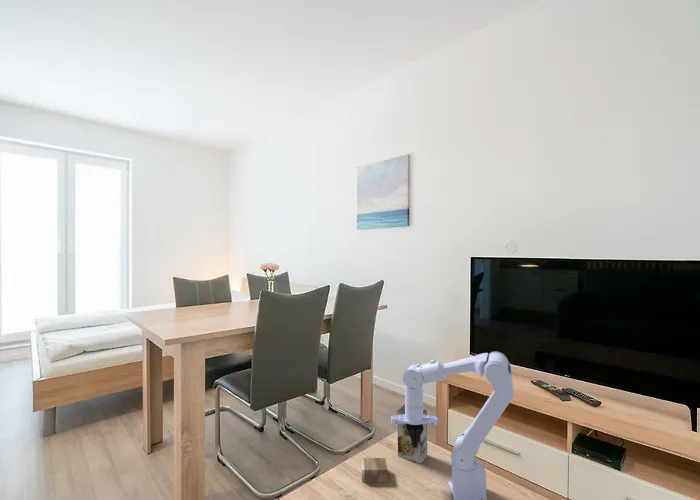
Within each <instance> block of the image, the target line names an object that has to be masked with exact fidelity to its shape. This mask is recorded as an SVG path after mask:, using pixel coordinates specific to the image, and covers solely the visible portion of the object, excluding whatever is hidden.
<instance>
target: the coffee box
mask: <svg viewBox="0 0 700 500" xmlns="http://www.w3.org/2000/svg"><path fill="white" fill-rule="evenodd" d="M403 414H405V404H403V405H402V406H401V407H400V408H399V409H398V410H397V411H396V416H397V415H403ZM423 415H428V410H427V409H424V408H423ZM396 426H397V456H398V457H400V458H401V457H402V458H404V459H407V460H410V461H413V462H415V463H418V464H422V463H423V462H424V461H425V459H426V458H427V457H428V424H423V428H424V429H423V432H422V433H421V435H420V437H419V440H418V444H417V448H412V442H411V438H410V435H409V433H408V431H407V428H406V424H396Z"/></svg>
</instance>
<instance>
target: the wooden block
mask: <svg viewBox="0 0 700 500" xmlns="http://www.w3.org/2000/svg"><path fill="white" fill-rule="evenodd" d="M361 482H362V483H388V465H387V458H386V457H362V458H361Z"/></svg>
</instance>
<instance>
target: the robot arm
mask: <svg viewBox="0 0 700 500" xmlns="http://www.w3.org/2000/svg"><path fill="white" fill-rule="evenodd" d="M470 372H474V373H475V374H476V375H477V376H480V377H482V378H483V375H484V376H485V377H486V380H488V382H489V383H490V384H491V386H492V388H493V391H492V393H491V394H490V396H489V397H488V398H487V400H486V402H485V403H484V405H483V406H482V407H481V409H480V410H479V412H478V413H477V415H476V417H475V418H474V420H472V422H471V424H470V425H469V427H468V428H466V429H465V430H464V432H462V433H460V434H458V435H457V436H456V438H455V440H454V442H455V443H454V446H453V450H452V452H451V454H450V455H451V457H450V458H451V480H449V481H448V482H447V484H448V487H449V489H450V492H451V494H452V498H453V500H488V499H487V475H486V469H485V466H484V464H483V463H482V462H481V461H478V460H477V459H476V458H475V457H476V456H477V454H478V452H479V450H480V447H481V444H482V443H483V442H484V440H485V439H486V437H487V436H488V435H489V433H490V431H492V429H493V427H494V426H495V425H496V423H497V421H498V420H499V419H500V418H501V416H502V415H503V413H504V412H505V410H506V409H507V407H508V406H509V404H510V403H511V402H512V400H513V398H514V383H513V382H514V381H513V374H512V373H513V372H512V366H511V363H510V362H509V360H508V358H507V356H506V355H505V354H504V353H502V352H499V351H491V352H490V353H488V352H483V353H479V354H476V355H474V356H473V355H472V356H469V357H464V358H461V359H457V360H454V361H451V362H447V363H445V362H442V361H441V360H436V359H431V360H430V362H427V363H422V364H421V363H417V364H411V365H410V366H409V367H408V368H407V369H406V370H405V372H403V375H402V381H403V383H404V385H405V386H404V405H405V414H403V415H397V414H396V415H391V417H390V422H391V425H392V426H394V425H395V426H396V425H397V424H406V428H407V431H408V433H409V435H410V438H411V442H412V448H417V444H418V440H419V437H420V435H421V433H422V432H423V429H424V428H423V424H427V425H434V426H438V423H439V422H438V417H437V416H436V415H434V416H432V415H428V414H427V415H423V409H424V389H423V388H424V387H423V386H424V384H429V383H434V382H440V381H445V380H446V378H447V376H448V375H456V374H463V373H470Z"/></svg>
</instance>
